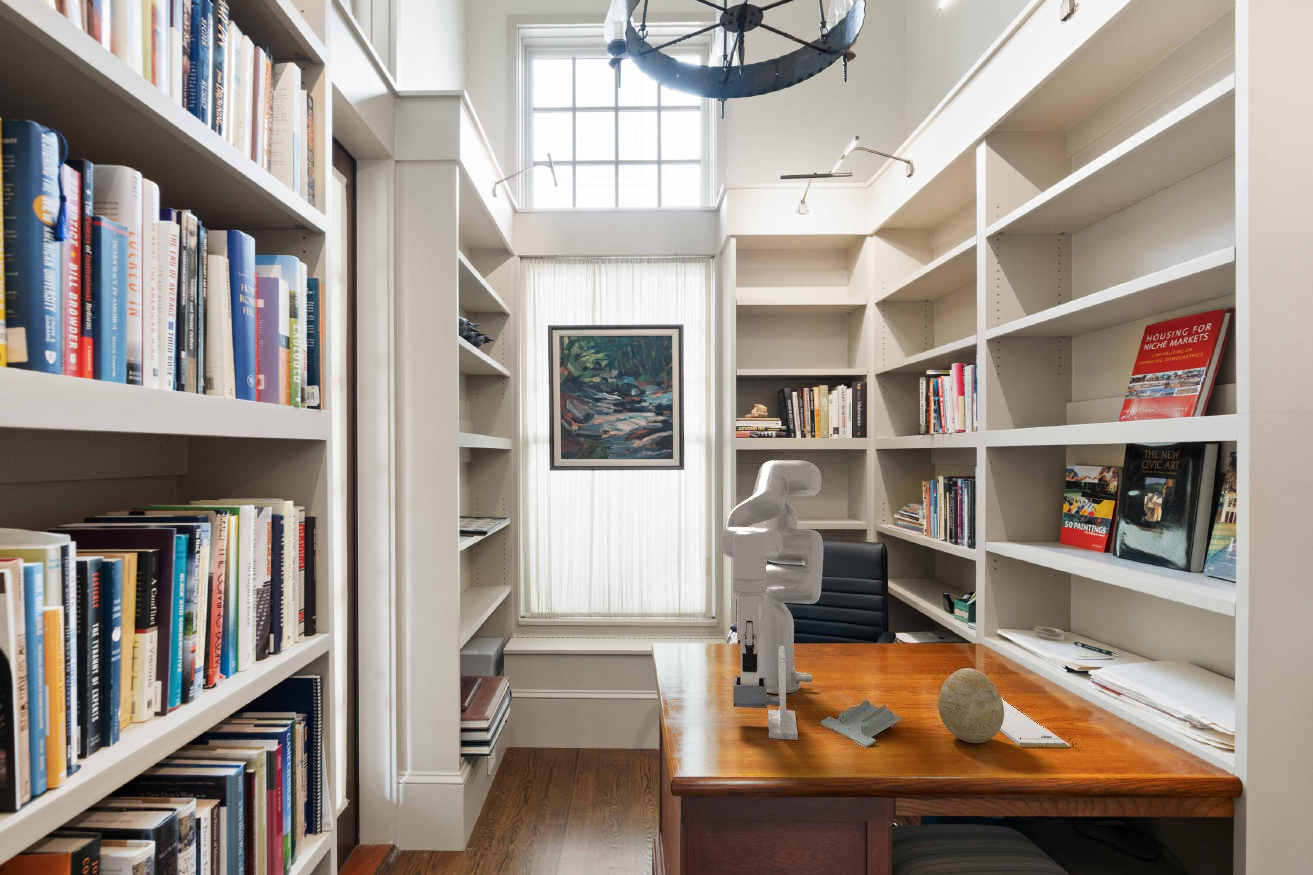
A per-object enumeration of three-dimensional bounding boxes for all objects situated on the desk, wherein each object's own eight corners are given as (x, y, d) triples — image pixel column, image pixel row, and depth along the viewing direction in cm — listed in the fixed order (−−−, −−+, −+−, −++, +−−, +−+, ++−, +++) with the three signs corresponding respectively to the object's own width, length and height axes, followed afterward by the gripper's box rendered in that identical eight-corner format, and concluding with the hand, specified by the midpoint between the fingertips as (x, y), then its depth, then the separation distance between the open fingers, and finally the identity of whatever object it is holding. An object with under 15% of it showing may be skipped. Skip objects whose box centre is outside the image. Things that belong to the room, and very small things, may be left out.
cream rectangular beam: (758, 680, 157) (758, 631, 158) (758, 686, 153) (758, 635, 154) (741, 679, 158) (741, 630, 158) (740, 685, 154) (740, 634, 154)
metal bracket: (862, 690, 162) (910, 711, 148) (867, 714, 162) (916, 736, 149) (813, 717, 156) (859, 741, 142) (820, 741, 157) (866, 767, 143)
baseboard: (1005, 699, 174) (957, 699, 174) (1005, 688, 174) (957, 687, 174) (1078, 750, 143) (1019, 749, 143) (1078, 735, 143) (1019, 735, 143)
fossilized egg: (1016, 743, 145) (1015, 670, 146) (983, 758, 138) (982, 681, 138) (959, 725, 155) (958, 657, 156) (926, 737, 148) (925, 666, 148)
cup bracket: (794, 715, 161) (794, 645, 161) (797, 739, 147) (797, 662, 148) (735, 712, 163) (735, 643, 163) (732, 735, 149) (732, 660, 150)
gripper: (734, 579, 165) (734, 658, 164) (731, 591, 149) (731, 678, 148) (766, 580, 164) (766, 659, 163) (766, 593, 148) (767, 680, 147)
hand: (750, 667), depth 156 cm, fingers closed on cream rectangular beam, 4 cm apart
